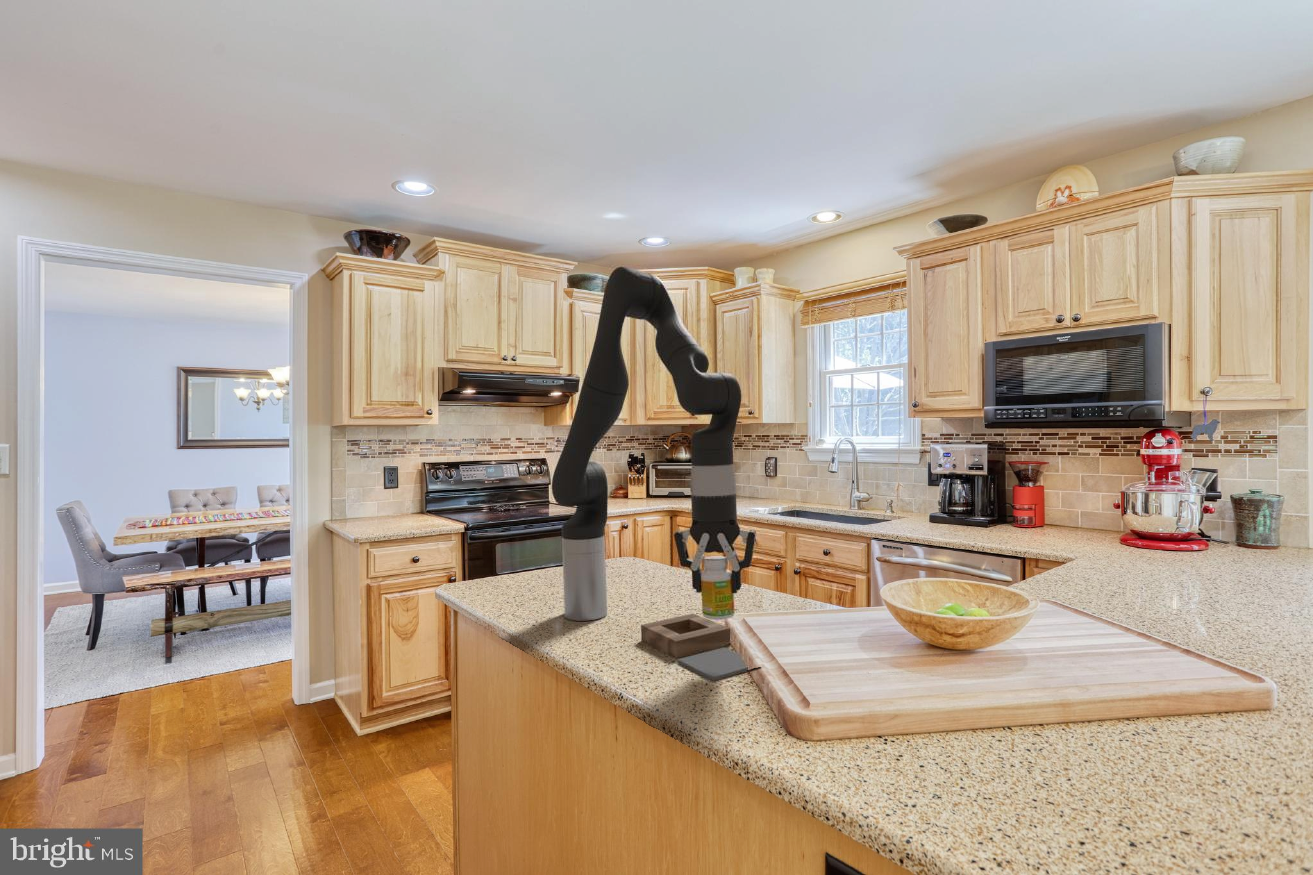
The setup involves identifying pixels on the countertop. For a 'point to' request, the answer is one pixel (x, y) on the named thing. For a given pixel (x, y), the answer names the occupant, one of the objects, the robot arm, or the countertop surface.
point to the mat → (715, 663)
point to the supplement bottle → (717, 589)
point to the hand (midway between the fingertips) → (716, 591)
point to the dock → (685, 635)
